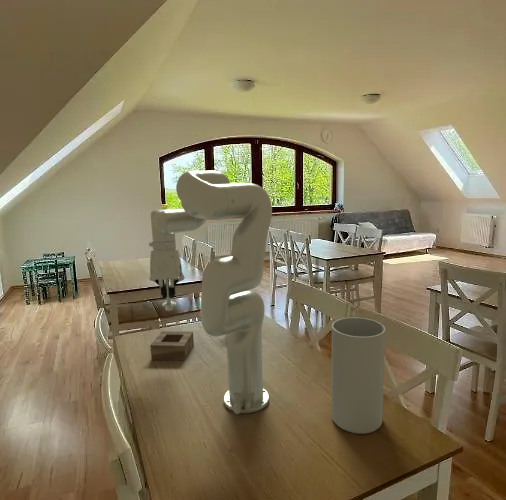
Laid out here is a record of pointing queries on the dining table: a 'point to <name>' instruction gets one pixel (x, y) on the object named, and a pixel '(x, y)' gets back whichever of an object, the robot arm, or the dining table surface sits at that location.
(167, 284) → the screw
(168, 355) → the socket block
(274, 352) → the dining table surface
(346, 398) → the cylinder vase
